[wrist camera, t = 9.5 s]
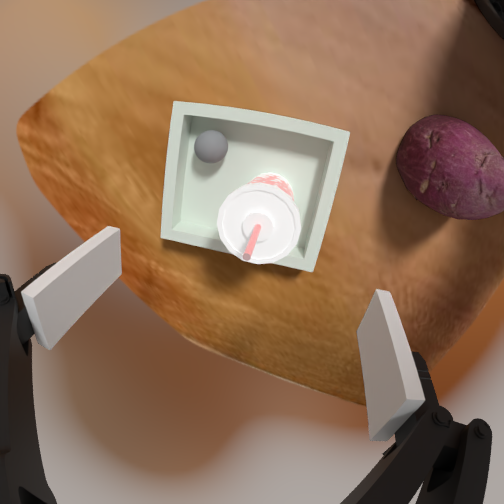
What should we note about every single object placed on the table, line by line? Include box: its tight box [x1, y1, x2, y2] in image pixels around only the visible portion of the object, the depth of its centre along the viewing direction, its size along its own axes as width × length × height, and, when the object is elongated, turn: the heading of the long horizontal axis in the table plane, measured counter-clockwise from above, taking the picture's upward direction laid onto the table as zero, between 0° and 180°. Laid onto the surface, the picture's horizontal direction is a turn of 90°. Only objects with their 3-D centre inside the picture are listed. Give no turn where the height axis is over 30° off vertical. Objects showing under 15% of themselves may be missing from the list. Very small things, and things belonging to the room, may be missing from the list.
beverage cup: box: [217, 172, 301, 264], centre depth 23 cm, size 6×6×14 cm
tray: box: [161, 101, 350, 272], centre depth 29 cm, size 16×14×4 cm
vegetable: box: [396, 115, 504, 220], centre depth 20 cm, size 10×10×15 cm
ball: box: [194, 130, 228, 163], centre depth 27 cm, size 3×3×3 cm
